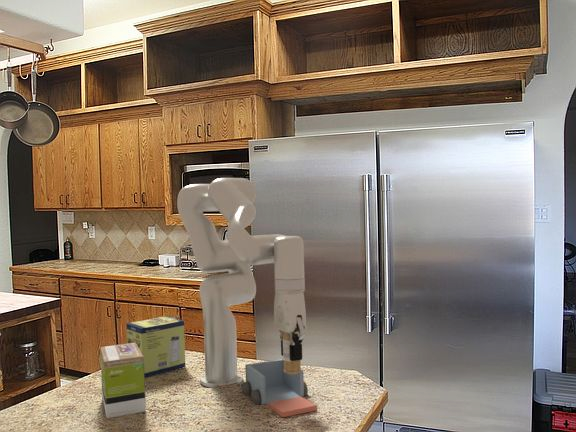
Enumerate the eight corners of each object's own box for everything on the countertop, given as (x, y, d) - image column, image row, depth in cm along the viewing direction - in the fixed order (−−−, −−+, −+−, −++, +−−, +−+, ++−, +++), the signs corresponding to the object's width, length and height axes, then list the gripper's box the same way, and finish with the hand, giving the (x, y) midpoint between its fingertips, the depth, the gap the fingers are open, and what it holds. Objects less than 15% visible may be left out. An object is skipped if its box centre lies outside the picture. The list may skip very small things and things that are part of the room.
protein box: (126, 371, 169) (125, 323, 169) (169, 360, 180) (168, 315, 179) (142, 379, 161) (141, 328, 161) (186, 367, 172) (185, 319, 171)
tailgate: (268, 402, 136) (282, 412, 128) (300, 396, 140) (316, 405, 132) (268, 407, 136) (282, 417, 128) (301, 401, 140) (317, 410, 132)
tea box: (101, 399, 145) (99, 345, 145) (138, 393, 149) (137, 341, 149) (105, 419, 131) (103, 360, 131) (146, 412, 135) (145, 354, 135)
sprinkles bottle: (304, 372, 133) (303, 319, 132) (289, 376, 130) (288, 321, 130) (294, 368, 136) (293, 316, 136) (279, 371, 134) (278, 318, 134)
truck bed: (241, 394, 146) (240, 365, 146) (289, 385, 153) (289, 357, 152) (257, 409, 136) (256, 378, 135) (308, 398, 142) (308, 369, 142)
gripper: (263, 282, 139) (265, 351, 139) (290, 291, 124) (292, 368, 124) (289, 280, 142) (291, 347, 142) (318, 288, 127) (320, 364, 127)
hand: (291, 356), depth 133 cm, fingers closed on sprinkles bottle, 4 cm apart
